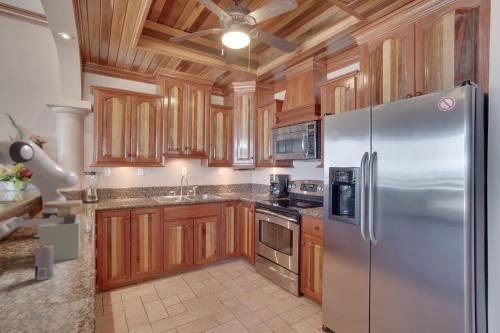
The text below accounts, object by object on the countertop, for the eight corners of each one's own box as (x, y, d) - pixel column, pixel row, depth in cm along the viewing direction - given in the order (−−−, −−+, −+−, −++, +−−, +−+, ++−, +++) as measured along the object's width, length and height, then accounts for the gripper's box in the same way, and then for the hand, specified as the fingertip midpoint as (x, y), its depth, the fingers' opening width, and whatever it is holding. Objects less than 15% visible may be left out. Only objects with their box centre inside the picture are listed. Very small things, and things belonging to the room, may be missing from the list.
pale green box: (42, 258, 116) (43, 222, 116) (79, 253, 123) (80, 219, 123) (39, 264, 109) (39, 226, 109) (78, 258, 116) (78, 223, 116)
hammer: (14, 225, 111) (14, 218, 111) (76, 220, 122) (76, 214, 122) (9, 228, 105) (9, 221, 105) (74, 223, 116) (74, 216, 116)
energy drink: (43, 274, 98) (43, 243, 98) (56, 275, 98) (57, 244, 98) (30, 281, 93) (31, 248, 93) (45, 281, 93) (45, 248, 93)
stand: (47, 250, 126) (48, 201, 126) (81, 246, 133) (82, 200, 133) (43, 256, 118) (44, 204, 118) (80, 251, 125) (80, 202, 125)
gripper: (-31, 236, 94) (13, 215, 100) (-10, 225, 112) (26, 207, 118) (-19, 250, 95) (23, 228, 101) (0, 236, 113) (35, 218, 119)
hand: (25, 217), depth 110 cm, fingers open, 8 cm apart
